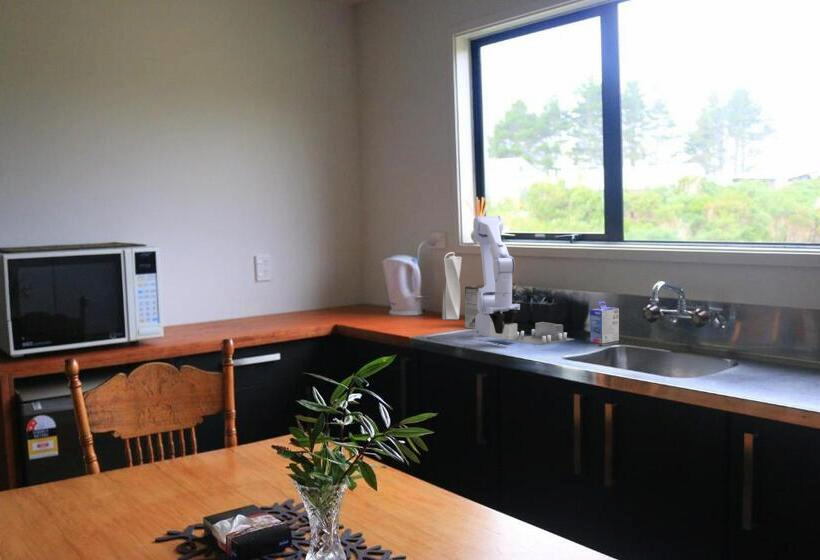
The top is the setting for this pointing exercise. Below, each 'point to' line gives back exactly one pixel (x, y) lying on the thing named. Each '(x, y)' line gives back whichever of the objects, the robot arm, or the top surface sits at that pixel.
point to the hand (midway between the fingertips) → (503, 332)
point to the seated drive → (548, 330)
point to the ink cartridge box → (604, 324)
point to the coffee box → (471, 305)
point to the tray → (542, 340)
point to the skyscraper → (452, 288)
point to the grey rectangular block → (505, 331)
